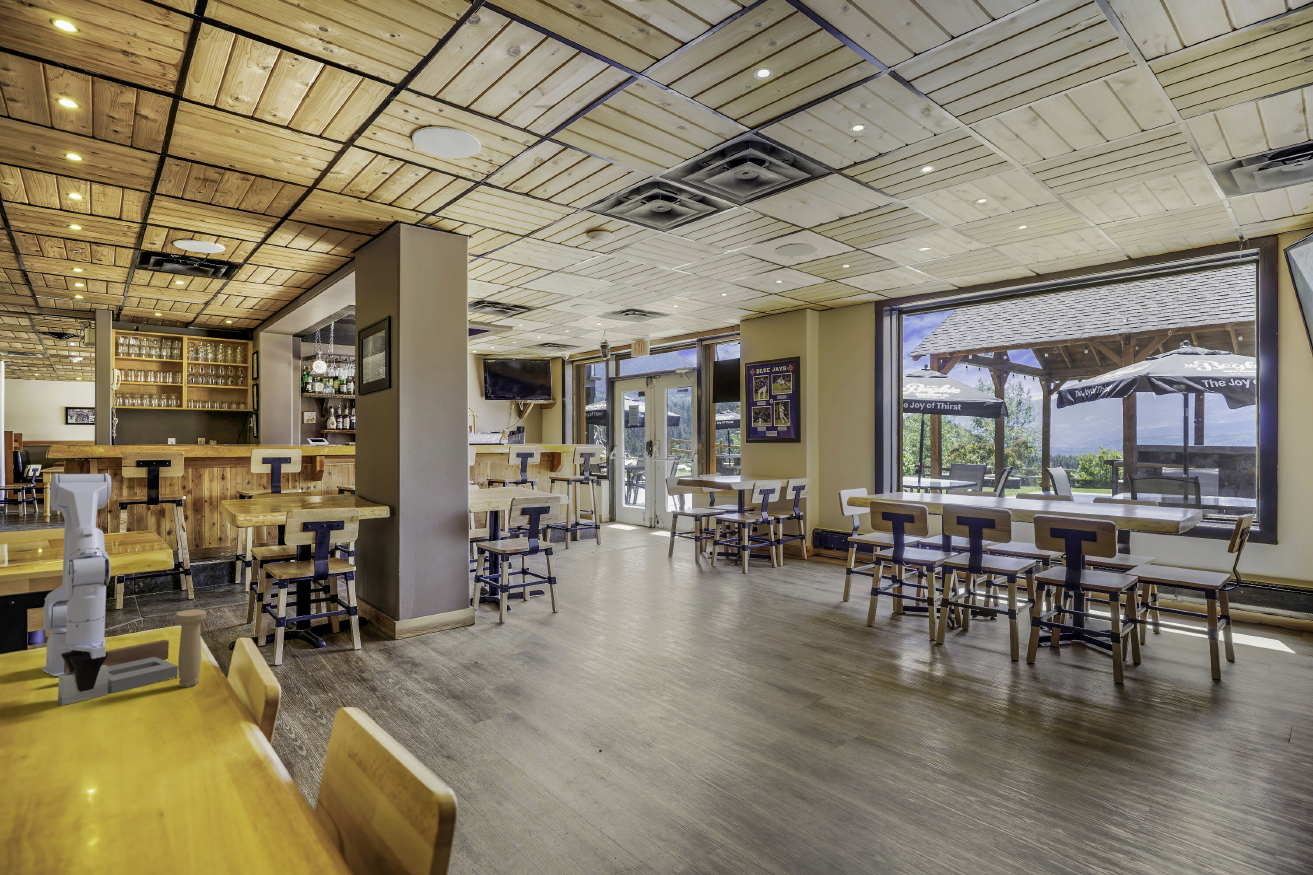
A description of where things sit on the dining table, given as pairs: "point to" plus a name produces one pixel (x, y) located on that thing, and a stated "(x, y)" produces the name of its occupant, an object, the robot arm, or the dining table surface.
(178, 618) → the handle
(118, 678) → the slotted grey plate
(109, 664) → the brown long flat block
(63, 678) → the white wooden block
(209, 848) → the dining table surface
